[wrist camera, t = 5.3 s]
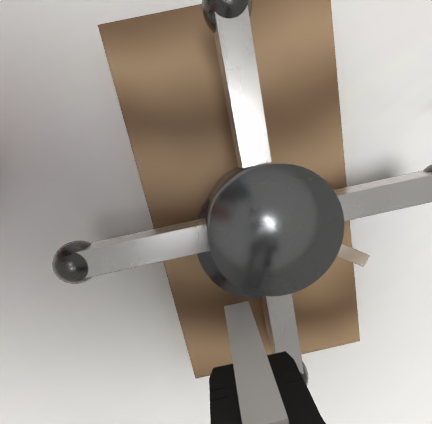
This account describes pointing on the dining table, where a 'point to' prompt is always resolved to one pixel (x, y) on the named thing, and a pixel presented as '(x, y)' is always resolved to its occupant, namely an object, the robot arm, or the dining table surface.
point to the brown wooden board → (233, 150)
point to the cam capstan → (253, 206)
